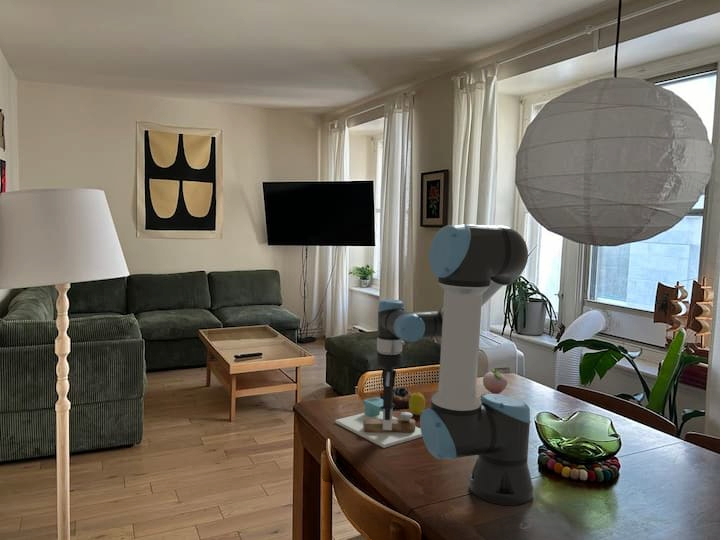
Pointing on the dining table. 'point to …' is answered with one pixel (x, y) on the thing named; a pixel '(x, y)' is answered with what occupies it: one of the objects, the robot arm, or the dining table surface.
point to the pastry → (400, 397)
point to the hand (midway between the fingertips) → (387, 429)
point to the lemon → (417, 403)
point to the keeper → (373, 406)
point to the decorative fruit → (494, 382)
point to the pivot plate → (379, 438)
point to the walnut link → (397, 425)
